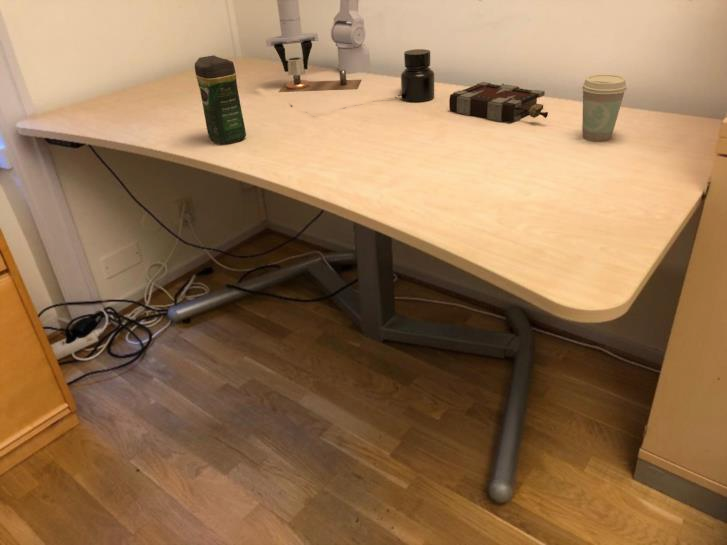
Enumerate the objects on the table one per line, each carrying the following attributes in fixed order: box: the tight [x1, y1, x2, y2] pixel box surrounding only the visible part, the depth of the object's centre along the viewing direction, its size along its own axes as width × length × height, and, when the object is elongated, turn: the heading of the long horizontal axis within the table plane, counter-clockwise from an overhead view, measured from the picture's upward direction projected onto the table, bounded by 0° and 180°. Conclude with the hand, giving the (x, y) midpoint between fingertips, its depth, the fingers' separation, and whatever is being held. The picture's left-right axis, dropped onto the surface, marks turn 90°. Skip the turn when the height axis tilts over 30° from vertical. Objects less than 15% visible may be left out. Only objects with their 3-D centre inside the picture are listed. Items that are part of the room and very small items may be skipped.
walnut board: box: [277, 79, 362, 93], centre depth 171 cm, size 23×11×2 cm, turn 84°
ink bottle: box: [400, 48, 435, 103], centre depth 155 cm, size 10×9×12 cm
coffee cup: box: [581, 74, 628, 142], centre depth 121 cm, size 9×8×12 cm
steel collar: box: [286, 56, 306, 76], centre depth 168 cm, size 5×5×4 cm
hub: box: [285, 75, 310, 90], centre depth 170 cm, size 7×7×5 cm
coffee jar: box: [194, 54, 247, 144], centre depth 134 cm, size 10×8×19 cm
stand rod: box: [339, 70, 347, 86], centre depth 169 cm, size 2×2×4 cm
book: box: [448, 81, 549, 123], centre depth 141 cm, size 15×25×5 cm, turn 45°
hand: (295, 69), depth 169 cm, fingers closed on steel collar, 5 cm apart
